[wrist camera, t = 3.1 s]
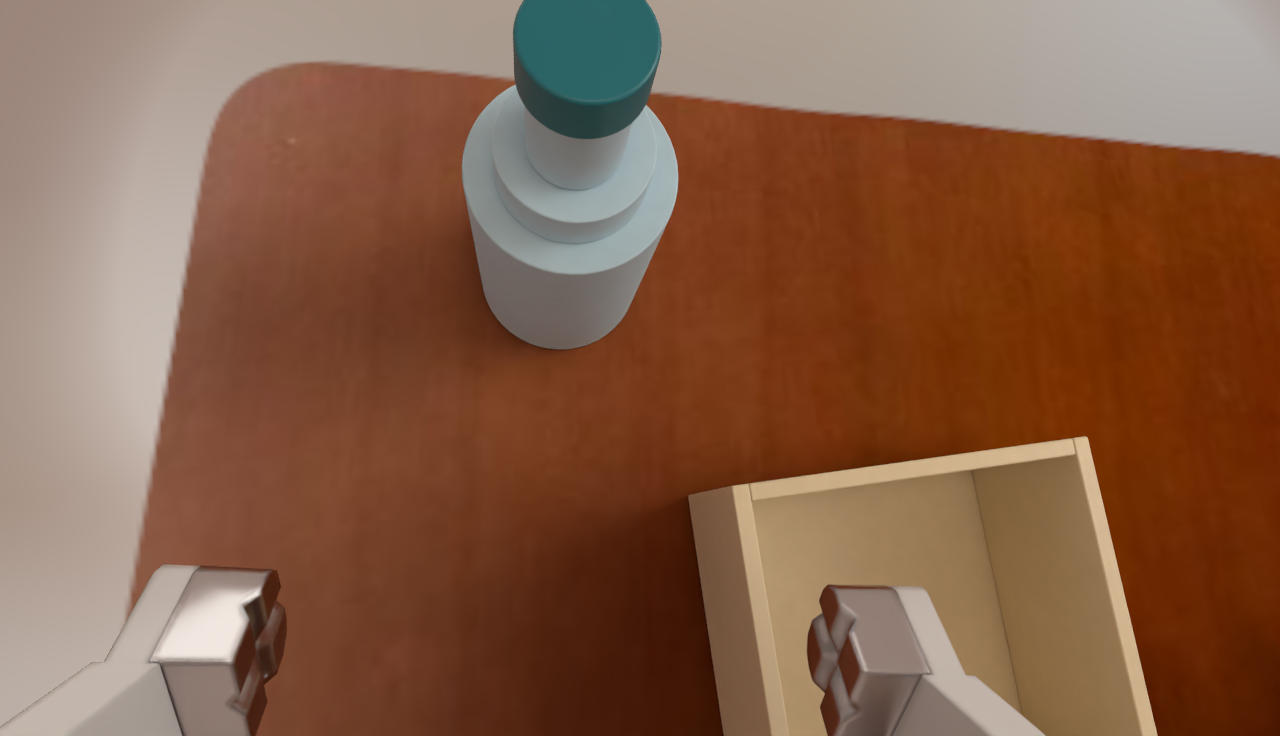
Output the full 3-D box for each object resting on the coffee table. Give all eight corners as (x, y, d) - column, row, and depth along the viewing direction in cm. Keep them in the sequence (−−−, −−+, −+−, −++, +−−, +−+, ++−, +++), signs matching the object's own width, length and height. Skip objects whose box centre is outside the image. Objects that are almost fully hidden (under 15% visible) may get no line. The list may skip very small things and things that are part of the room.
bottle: (490, 358, 29) (451, 187, 15) (473, 209, 30) (422, -93, 15) (645, 341, 30) (756, 163, 15) (624, 196, 31) (709, -100, 16)
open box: (737, 828, 27) (800, 918, 21) (687, 495, 29) (731, 486, 23) (1038, 765, 29) (1181, 832, 23) (973, 454, 31) (1087, 435, 24)
